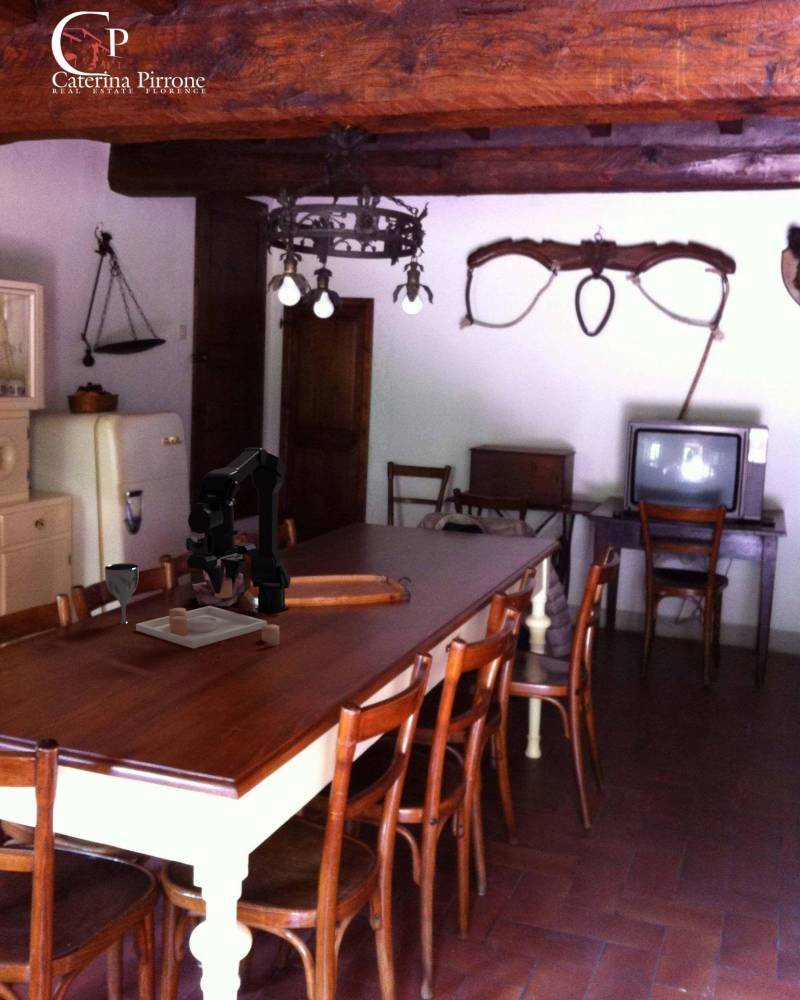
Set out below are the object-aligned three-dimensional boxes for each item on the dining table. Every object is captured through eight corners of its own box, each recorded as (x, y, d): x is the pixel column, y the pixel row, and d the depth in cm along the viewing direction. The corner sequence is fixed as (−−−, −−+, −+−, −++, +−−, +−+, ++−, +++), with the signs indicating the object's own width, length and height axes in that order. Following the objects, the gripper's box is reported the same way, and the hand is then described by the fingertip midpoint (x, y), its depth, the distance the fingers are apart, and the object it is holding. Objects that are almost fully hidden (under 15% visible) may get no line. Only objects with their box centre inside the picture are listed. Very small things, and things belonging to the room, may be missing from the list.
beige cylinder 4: (179, 622, 246) (179, 606, 245) (189, 625, 243) (189, 609, 243) (166, 626, 243) (165, 610, 242) (176, 629, 240) (175, 613, 240)
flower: (183, 590, 271) (189, 557, 267) (235, 590, 278) (242, 559, 274) (196, 618, 259) (203, 584, 255) (250, 618, 266) (258, 585, 262)
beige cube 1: (235, 595, 237) (235, 578, 236) (224, 598, 233) (224, 582, 233) (222, 593, 239) (222, 576, 238) (211, 596, 235) (210, 580, 235)
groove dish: (209, 615, 256) (209, 603, 256) (267, 631, 242) (267, 619, 242) (136, 634, 240) (135, 622, 240) (193, 652, 226) (192, 639, 225)
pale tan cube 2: (271, 640, 235) (271, 623, 235) (283, 643, 233) (282, 626, 232) (258, 643, 232) (258, 627, 232) (270, 647, 230) (269, 630, 229)
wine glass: (107, 632, 242) (104, 571, 240) (107, 623, 249) (104, 564, 247) (141, 629, 244) (138, 569, 242) (140, 620, 252) (138, 562, 249)
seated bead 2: (180, 631, 239) (180, 615, 238) (191, 634, 236) (190, 618, 235) (166, 635, 236) (166, 618, 235) (177, 638, 233) (176, 621, 232)
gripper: (221, 517, 245) (223, 579, 248) (167, 529, 230) (170, 595, 232) (257, 521, 240) (258, 584, 242) (204, 533, 224) (207, 602, 226)
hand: (223, 591), depth 236 cm, fingers closed on beige cube 1, 4 cm apart
